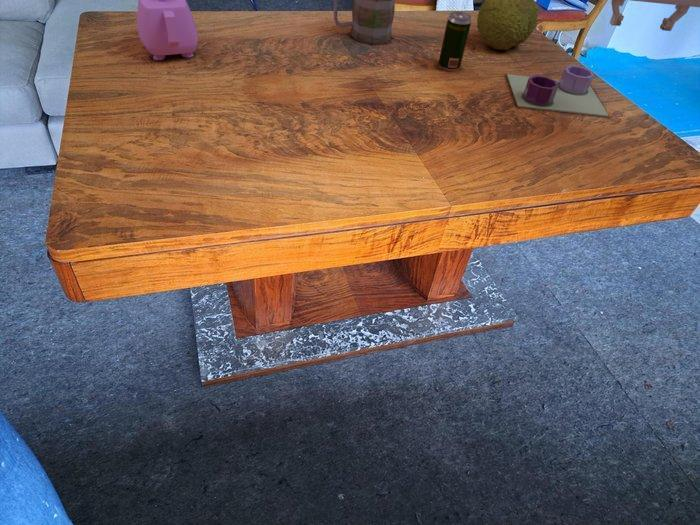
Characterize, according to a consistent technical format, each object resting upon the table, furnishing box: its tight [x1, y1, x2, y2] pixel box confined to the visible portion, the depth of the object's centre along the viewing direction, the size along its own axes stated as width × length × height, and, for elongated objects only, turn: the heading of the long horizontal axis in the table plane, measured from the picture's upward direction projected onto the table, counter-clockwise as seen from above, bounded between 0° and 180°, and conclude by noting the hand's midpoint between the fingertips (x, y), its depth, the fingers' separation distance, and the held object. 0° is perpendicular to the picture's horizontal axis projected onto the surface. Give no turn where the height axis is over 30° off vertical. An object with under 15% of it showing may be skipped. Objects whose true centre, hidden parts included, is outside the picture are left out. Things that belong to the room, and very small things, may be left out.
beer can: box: [438, 10, 472, 73], centre depth 119 cm, size 5×5×12 cm
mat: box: [506, 73, 610, 118], centre depth 117 cm, size 20×16×1 cm
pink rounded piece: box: [136, 0, 199, 61], centre depth 112 cm, size 20×12×13 cm, turn 24°
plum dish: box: [524, 75, 559, 106], centre depth 112 cm, size 6×6×4 cm
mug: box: [333, 0, 396, 45], centre depth 129 cm, size 16×11×12 cm
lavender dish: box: [559, 65, 595, 94], centre depth 118 cm, size 6×6×4 cm
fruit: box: [476, 0, 540, 51], centre depth 131 cm, size 16×14×15 cm
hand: (639, 27), depth 95 cm, fingers open, 8 cm apart
